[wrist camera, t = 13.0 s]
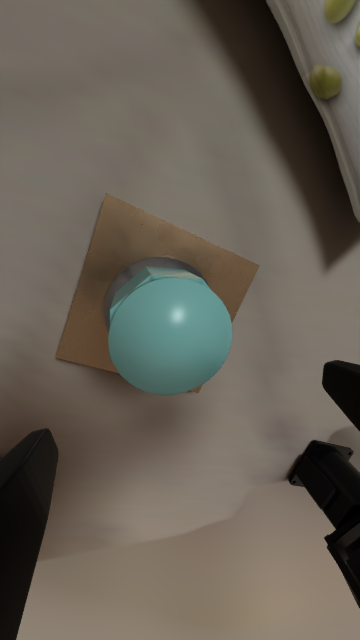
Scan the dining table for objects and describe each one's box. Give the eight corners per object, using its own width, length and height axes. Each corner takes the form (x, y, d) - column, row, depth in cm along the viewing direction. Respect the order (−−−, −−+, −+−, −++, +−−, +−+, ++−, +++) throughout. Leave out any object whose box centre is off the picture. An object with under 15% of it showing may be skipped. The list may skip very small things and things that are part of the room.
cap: (156, 370, 18) (165, 414, 13) (94, 310, 16) (78, 339, 11) (221, 316, 18) (253, 343, 13) (167, 247, 15) (183, 249, 11)
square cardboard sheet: (253, 264, 19) (292, 271, 14) (195, 386, 22) (213, 426, 17) (107, 196, 15) (97, 175, 11) (59, 351, 18) (35, 389, 13)
